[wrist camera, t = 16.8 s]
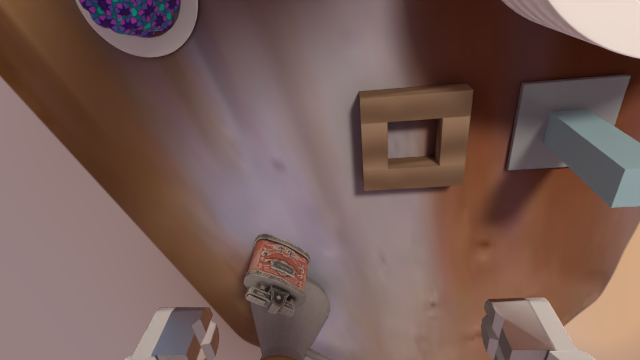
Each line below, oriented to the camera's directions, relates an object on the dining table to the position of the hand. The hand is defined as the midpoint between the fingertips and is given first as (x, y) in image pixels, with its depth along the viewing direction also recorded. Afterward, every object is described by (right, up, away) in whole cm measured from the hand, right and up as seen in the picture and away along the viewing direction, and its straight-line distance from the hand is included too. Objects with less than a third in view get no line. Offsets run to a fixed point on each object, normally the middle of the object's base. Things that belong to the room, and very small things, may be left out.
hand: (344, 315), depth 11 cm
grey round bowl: (-18, +22, +25) cm, 38 cm away
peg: (+25, +10, +28) cm, 39 cm away
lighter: (-6, -5, +41) cm, 41 cm away
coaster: (+25, +10, +29) cm, 40 cm away
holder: (+9, +9, +30) cm, 33 cm away
